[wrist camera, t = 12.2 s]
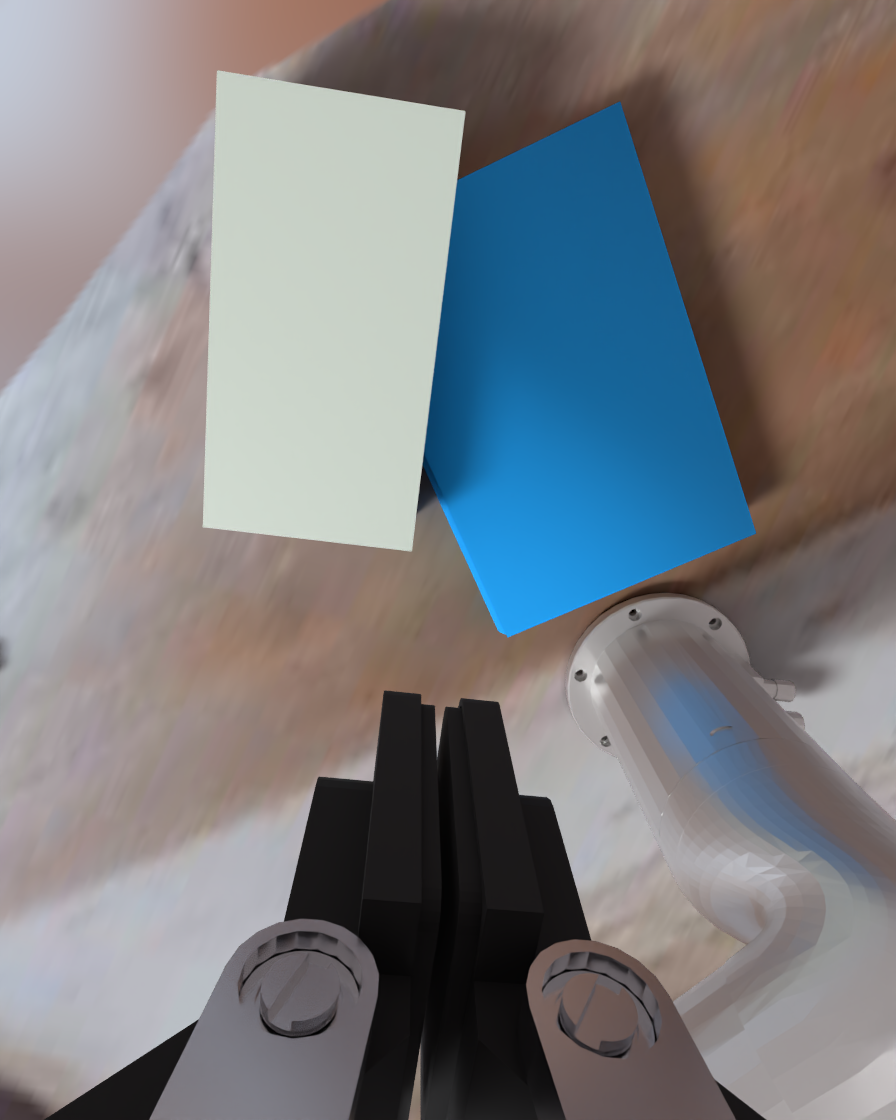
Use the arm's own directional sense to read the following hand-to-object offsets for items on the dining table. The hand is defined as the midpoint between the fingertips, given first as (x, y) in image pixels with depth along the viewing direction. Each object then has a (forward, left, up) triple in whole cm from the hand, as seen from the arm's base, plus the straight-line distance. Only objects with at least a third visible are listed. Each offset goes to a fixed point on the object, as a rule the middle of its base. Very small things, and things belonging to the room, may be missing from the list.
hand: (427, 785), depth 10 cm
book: (-7, -4, -36) cm, 37 cm away
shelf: (+6, -6, -35) cm, 36 cm away
